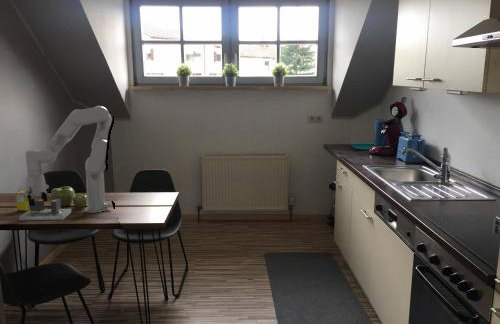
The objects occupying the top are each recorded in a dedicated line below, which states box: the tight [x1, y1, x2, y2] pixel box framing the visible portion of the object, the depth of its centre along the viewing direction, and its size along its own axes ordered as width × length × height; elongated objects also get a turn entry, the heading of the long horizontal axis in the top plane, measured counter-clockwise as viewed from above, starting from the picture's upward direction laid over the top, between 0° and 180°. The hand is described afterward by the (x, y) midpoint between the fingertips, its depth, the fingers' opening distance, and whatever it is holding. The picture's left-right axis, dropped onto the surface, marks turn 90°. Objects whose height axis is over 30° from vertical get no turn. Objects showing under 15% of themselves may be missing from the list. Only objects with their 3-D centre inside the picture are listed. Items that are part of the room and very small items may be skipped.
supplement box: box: [15, 190, 32, 213], centre depth 248 cm, size 6×6×11 cm
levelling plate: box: [18, 208, 72, 221], centre depth 237 cm, size 22×15×2 cm
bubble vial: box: [39, 211, 51, 215], centre depth 234 cm, size 5×2×2 cm, turn 96°
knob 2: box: [50, 198, 62, 213], centre depth 238 cm, size 5×7×7 cm
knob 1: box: [30, 199, 45, 213], centre depth 237 cm, size 5×7×7 cm
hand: (38, 203), depth 237 cm, fingers open, 9 cm apart
